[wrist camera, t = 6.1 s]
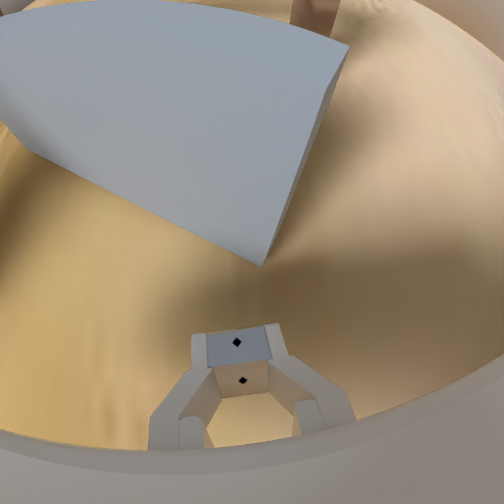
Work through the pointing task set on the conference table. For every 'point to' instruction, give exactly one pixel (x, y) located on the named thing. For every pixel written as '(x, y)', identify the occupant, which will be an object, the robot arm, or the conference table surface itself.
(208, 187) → the door
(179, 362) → the conference table surface
